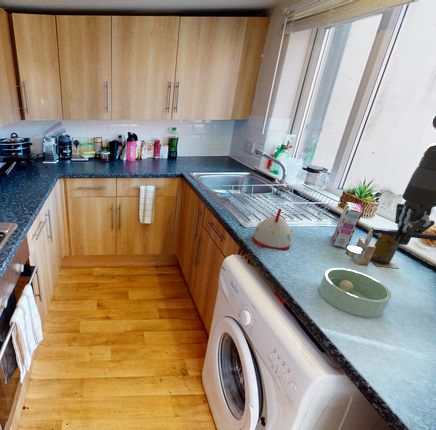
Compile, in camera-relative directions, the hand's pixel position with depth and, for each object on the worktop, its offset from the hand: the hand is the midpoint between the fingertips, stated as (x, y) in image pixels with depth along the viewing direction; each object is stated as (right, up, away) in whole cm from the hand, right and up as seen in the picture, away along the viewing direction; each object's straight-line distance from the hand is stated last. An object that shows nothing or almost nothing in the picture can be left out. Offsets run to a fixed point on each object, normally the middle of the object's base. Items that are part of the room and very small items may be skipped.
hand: (399, 242), depth 82 cm
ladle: (-2, -5, +3) cm, 7 cm away
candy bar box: (+13, -4, +38) cm, 40 cm away
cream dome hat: (-17, -4, +37) cm, 41 cm away
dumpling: (-10, -16, +9) cm, 20 cm away
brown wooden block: (+9, -10, +25) cm, 28 cm away
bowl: (-11, -18, +5) cm, 22 cm away
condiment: (+18, -10, +26) cm, 33 cm away
